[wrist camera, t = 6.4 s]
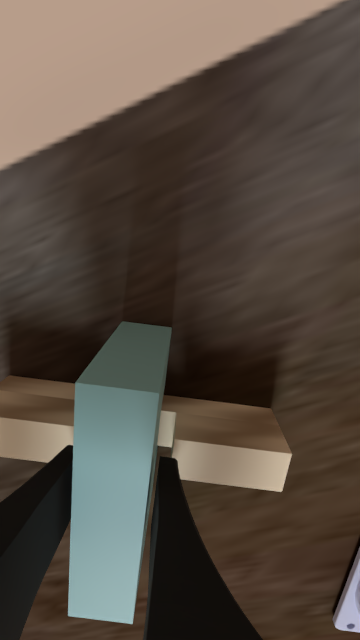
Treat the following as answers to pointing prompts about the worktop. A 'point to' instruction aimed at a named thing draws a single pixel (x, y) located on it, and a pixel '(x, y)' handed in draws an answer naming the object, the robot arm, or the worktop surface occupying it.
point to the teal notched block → (115, 469)
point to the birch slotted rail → (174, 431)
